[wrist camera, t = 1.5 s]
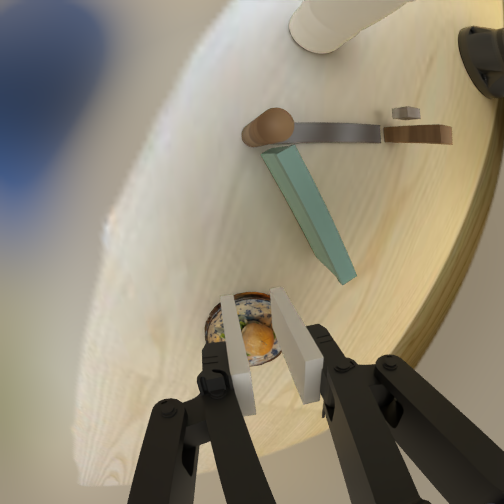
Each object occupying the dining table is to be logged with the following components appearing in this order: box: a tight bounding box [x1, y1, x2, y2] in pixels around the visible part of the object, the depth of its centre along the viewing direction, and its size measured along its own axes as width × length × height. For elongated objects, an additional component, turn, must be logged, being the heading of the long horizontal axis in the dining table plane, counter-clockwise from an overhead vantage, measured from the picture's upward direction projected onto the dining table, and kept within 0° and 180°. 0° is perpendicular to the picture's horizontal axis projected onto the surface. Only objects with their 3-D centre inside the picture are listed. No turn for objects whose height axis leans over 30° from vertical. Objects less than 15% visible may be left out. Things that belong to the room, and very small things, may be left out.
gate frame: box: [242, 107, 453, 147], centre depth 26 cm, size 21×4×11 cm, turn 96°
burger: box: [205, 292, 282, 367], centre depth 36 cm, size 12×12×8 cm
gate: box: [261, 145, 357, 285], centre depth 29 cm, size 14×2×8 cm, turn 31°
